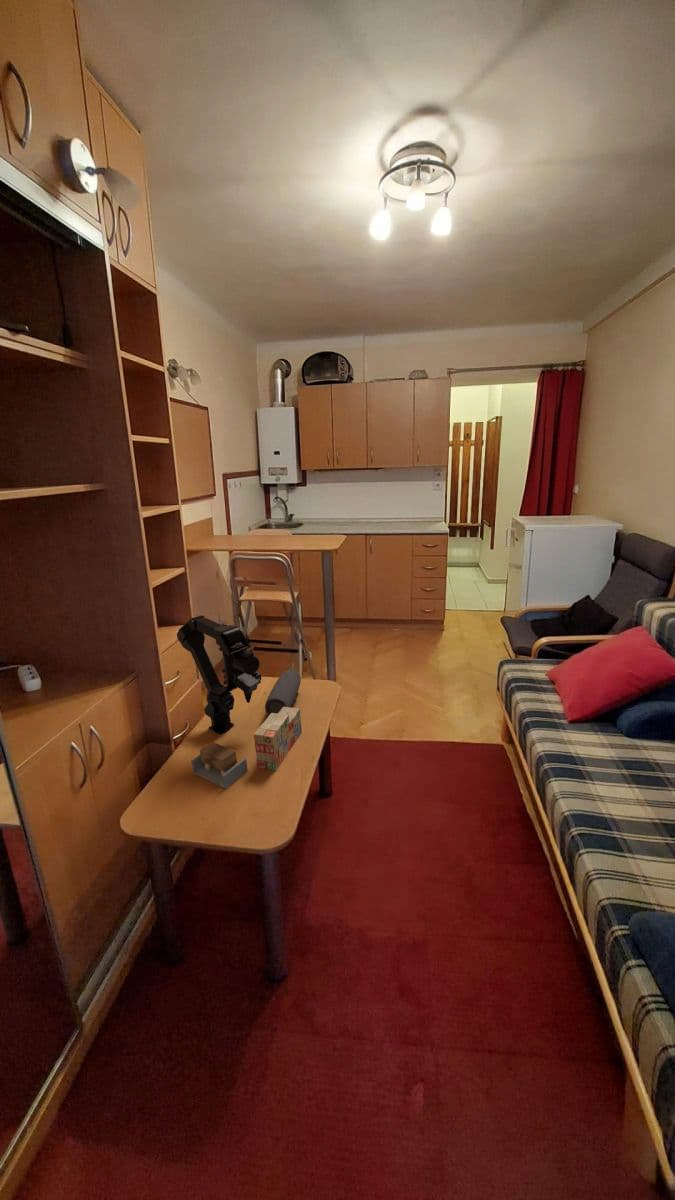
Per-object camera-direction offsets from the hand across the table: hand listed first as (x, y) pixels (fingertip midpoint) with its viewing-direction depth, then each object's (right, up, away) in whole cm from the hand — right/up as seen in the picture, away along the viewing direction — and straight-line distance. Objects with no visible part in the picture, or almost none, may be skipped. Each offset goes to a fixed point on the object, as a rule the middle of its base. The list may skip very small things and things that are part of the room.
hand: (238, 708), depth 153 cm
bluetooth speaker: (+12, -5, +25) cm, 28 cm away
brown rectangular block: (-3, -13, -13) cm, 19 cm away
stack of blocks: (+14, -13, -2) cm, 19 cm away
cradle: (-3, -16, -12) cm, 20 cm away
